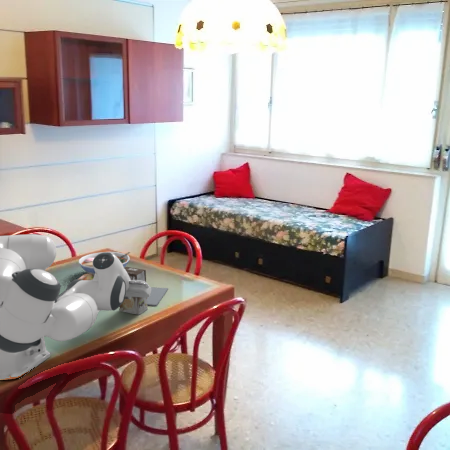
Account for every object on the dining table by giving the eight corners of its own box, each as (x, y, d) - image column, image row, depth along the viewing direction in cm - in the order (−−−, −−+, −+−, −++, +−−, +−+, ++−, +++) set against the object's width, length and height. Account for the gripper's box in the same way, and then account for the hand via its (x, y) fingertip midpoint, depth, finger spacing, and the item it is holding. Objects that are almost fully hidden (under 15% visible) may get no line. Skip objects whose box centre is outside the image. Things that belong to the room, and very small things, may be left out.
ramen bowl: (97, 263, 251) (96, 247, 249) (140, 268, 244) (139, 252, 242) (67, 280, 228) (66, 263, 226) (113, 286, 221) (112, 268, 219)
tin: (79, 303, 204) (78, 283, 202) (72, 302, 204) (70, 282, 202) (96, 289, 218) (95, 270, 216) (89, 289, 219) (88, 270, 217)
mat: (156, 306, 201) (156, 304, 201) (117, 303, 203) (117, 302, 203) (168, 289, 218) (168, 288, 218) (131, 287, 221) (131, 286, 220)
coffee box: (148, 309, 198) (147, 269, 194) (138, 315, 193) (137, 274, 189) (128, 305, 202) (126, 266, 198) (118, 311, 197) (116, 271, 193)
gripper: (147, 274, 178) (156, 290, 189) (91, 271, 181) (103, 287, 192) (144, 291, 175) (153, 307, 186) (86, 288, 177) (99, 303, 189)
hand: (127, 297), depth 189 cm, fingers closed
